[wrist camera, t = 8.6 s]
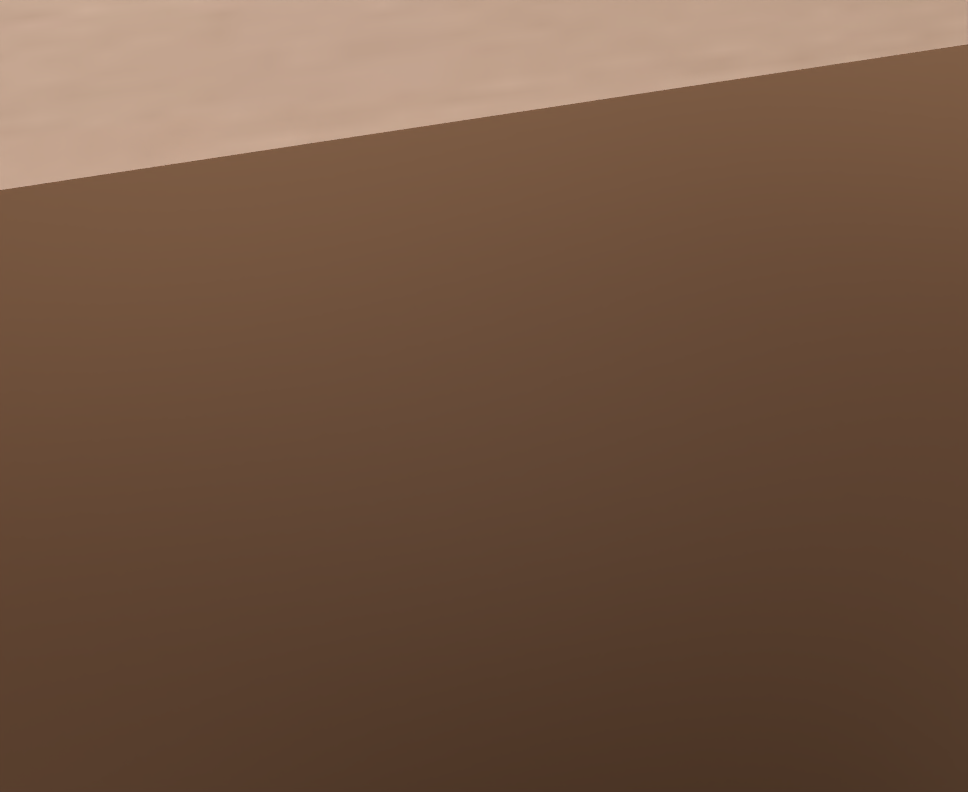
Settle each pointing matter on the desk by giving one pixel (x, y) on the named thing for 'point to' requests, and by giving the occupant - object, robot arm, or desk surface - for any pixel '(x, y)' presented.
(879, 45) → the desk surface
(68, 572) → the walnut post
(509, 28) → the desk surface
